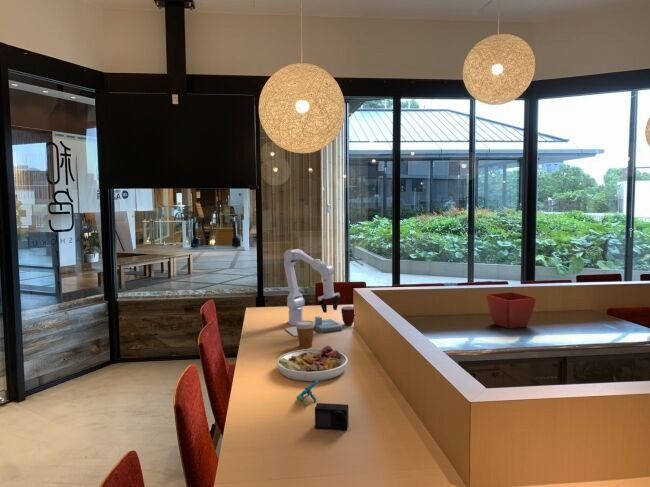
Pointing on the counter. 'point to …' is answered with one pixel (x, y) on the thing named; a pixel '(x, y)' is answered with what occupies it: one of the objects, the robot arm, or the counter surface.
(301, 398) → the blue green plastic toy
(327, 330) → the grey rectangular tray
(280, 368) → the bowl
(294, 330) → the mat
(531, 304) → the plant pot
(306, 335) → the disposable coffee cup
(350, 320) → the mug
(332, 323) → the lid
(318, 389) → the counter surface
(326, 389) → the counter surface
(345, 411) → the digital camera
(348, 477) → the counter surface
